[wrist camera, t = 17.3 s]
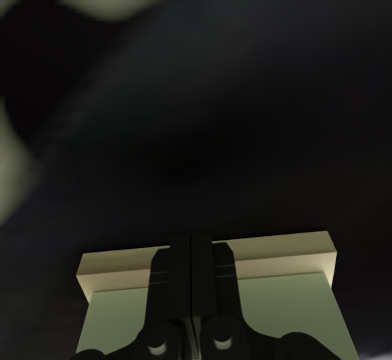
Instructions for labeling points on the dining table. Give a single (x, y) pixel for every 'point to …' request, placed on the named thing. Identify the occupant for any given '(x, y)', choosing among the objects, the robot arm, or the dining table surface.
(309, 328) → the block
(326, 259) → the vise
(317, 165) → the dining table surface
